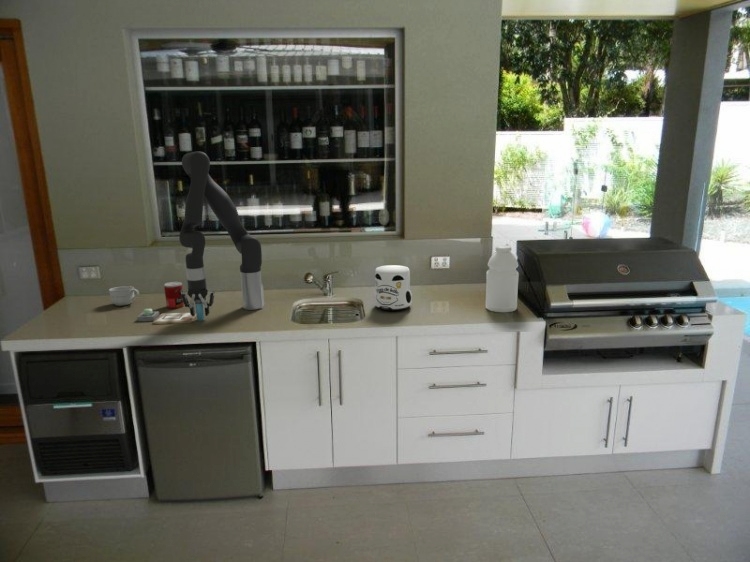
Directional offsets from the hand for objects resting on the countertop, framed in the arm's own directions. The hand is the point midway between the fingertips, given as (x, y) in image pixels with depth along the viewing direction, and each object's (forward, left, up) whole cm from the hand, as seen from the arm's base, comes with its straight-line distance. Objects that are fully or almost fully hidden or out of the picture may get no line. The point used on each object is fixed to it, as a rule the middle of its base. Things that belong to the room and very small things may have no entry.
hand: (200, 315), depth 241 cm
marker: (0, 0, -2) cm, 2 cm away
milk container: (-84, -9, -2) cm, 85 cm away
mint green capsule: (+23, -4, -2) cm, 24 cm away
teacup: (+42, -27, -2) cm, 50 cm away
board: (+11, -2, -2) cm, 11 cm away
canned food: (+17, -21, -2) cm, 27 cm away
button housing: (+23, -4, -2) cm, 24 cm away
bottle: (-132, -3, -2) cm, 132 cm away
